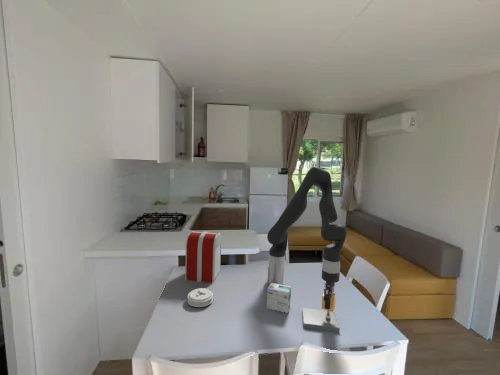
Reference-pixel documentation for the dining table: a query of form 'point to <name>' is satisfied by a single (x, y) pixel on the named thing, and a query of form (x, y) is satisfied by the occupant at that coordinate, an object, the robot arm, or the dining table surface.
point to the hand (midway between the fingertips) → (328, 305)
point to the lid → (200, 297)
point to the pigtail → (328, 315)
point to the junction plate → (320, 320)
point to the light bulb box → (279, 297)
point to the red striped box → (203, 256)
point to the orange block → (332, 302)
